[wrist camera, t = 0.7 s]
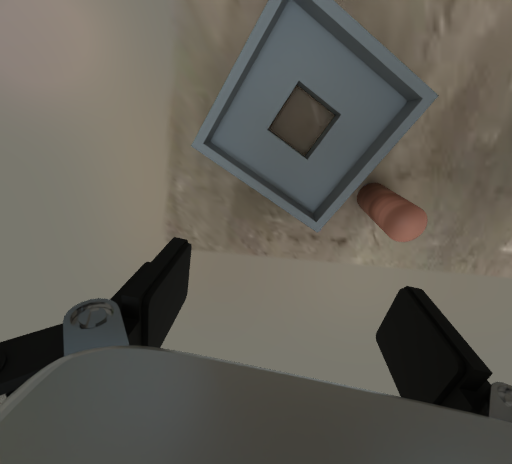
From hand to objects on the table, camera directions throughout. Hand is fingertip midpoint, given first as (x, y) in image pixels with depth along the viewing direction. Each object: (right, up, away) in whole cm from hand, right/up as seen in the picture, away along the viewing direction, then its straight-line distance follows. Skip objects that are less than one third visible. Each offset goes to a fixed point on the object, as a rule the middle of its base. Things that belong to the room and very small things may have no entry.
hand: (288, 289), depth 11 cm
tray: (+4, +16, +20) cm, 27 cm away
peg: (+15, +7, +24) cm, 29 cm away
